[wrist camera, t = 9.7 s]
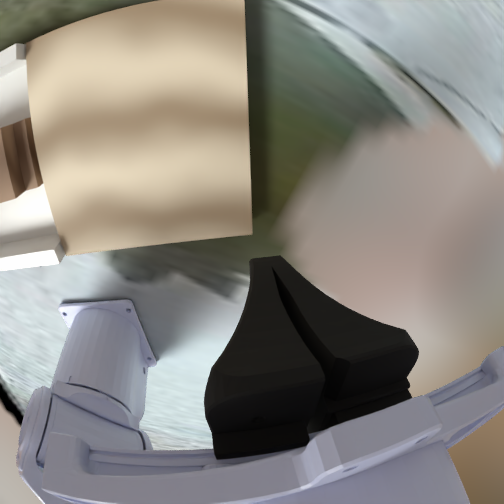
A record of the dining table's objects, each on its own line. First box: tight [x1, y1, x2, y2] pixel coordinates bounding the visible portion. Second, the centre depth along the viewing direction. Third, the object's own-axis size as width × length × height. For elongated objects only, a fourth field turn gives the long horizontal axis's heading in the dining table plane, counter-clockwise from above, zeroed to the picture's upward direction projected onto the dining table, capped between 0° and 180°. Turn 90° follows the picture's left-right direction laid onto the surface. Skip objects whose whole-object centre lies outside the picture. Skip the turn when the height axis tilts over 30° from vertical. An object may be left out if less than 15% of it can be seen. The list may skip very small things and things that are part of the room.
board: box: [26, 0, 253, 256], centre depth 16 cm, size 16×14×2 cm
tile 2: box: [13, 117, 43, 191], centre depth 14 cm, size 5×5×2 cm
